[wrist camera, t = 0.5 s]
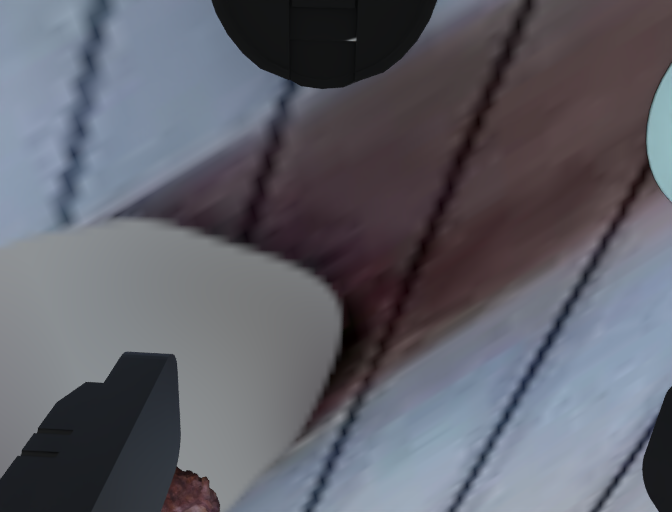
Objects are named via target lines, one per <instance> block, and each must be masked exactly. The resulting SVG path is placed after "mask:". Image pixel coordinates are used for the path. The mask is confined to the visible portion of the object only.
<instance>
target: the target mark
mask: <svg viewBox="0 0 672 512" xmlns="http://www.w3.org/2000/svg"><path fill="white" fill-rule="evenodd" d="M646 148H647V156H648V161H649V165H650V169H651V171H652V174H653V176H654V179H655V181H656V182H657V184H658V186H659V188H660V189H661V191H662V192H663V193H664V194H665V196H666V197H667V198H668V199H669V200H670V201H671V202H672V63H671V64H670V66H669V68H668V69H667V71H666V73H665V74H664V76H663V78H662V80H661V82H660V84H659V86H658V88H657V91H656V93H655V95H654V98H653V101H652V105H651V108H650V111H649V117H648V122H647V131H646Z"/></svg>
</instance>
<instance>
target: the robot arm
mask: <svg viewBox="0 0 672 512" xmlns="http://www.w3.org/2000/svg"><path fill="white" fill-rule="evenodd" d="M180 436H181V432H180V411H179V391H178V371H177V361H176V358H175V356H174V355H173V354H159V353H140V352H125V353H124V354H122V356H121V357H120V359H119V360H118V362H117V363H116V365H115V366H114V368H113V369H112V371H111V372H110V374H109V376H108V377H107V379H106V380H105V382H104V383H95V382H85V383H84V384H82V385H81V386H80V387H78V388H77V389H75V390H74V391H73V392H71V393H70V394H68V395H67V396H65V397H64V398H62V399H61V400H60V401H58V402H57V403H56V404H55V406H54V407H53V408H52V410H51V411H50V412H49V414H48V415H47V417H46V418H45V419H44V421H43V422H42V423H41V425H40V426H39V428H38V432H37V433H34V434H33V436H32V437H31V438H30V440H29V441H28V442H27V444H26V445H25V446H24V448H23V449H22V454H21V456H17V457H16V459H15V460H14V461H13V463H12V464H11V466H10V467H9V468H8V470H7V471H6V472H5V474H4V475H3V476H2V478H1V479H0V512H161V510H162V507H163V504H164V501H165V499H166V496H167V493H168V490H169V487H170V485H171V482H172V479H173V476H174V473H175V470H176V466H177V462H178V456H179V449H180ZM642 471H643V480H644V484H645V487H646V490H647V493H648V495H649V497H650V499H651V500H652V502H653V503H654V505H655V506H656V508H657V509H658V511H659V512H672V387H671V388H670V389H669V390H668V392H667V393H666V396H665V398H664V401H663V404H662V407H661V410H660V412H659V415H658V418H657V421H656V424H655V427H654V429H653V432H652V435H651V438H650V441H649V444H648V446H647V449H646V452H645V455H644V459H643V467H642Z"/></svg>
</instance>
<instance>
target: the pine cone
mask: <svg viewBox="0 0 672 512" xmlns="http://www.w3.org/2000/svg"><path fill="white" fill-rule="evenodd" d="M161 512H220V504H219V501H218V498H217V496H216V493H215V492H214V491H213V490H212V489H210V488H209V480H208V479H207V477H203V478H200V477H198V475H197V474H195V473H193V472H192V471H188V470H187V471H186V472H185V471H182V470H180V469H179V468H178V467H177V466H176V470H175V473H174V476H173V479H172V482H171V485H170V487H169V490H168V493H167V496H166V499H165V501H164V504H163V507H162V510H161Z"/></svg>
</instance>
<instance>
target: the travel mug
mask: <svg viewBox="0 0 672 512" xmlns="http://www.w3.org/2000/svg"><path fill="white" fill-rule="evenodd" d="M436 2H437V0H212V3H213V6H214V9H215V12H216V14H217V16H218V18H219V19H220V21H221V23H222V25H223V27H224V29H225V30H226V32H227V34H228V35H229V37H230V38H231V39H232V40H233V42H234V43H235V44H236V45H237V47H238V48H239V49H240V50H241V52H242V53H243V54H244V55H245V56H246V57H248V58H249V59H250V60H251V61H252V62H253V63H255V64H256V65H257V66H258V67H259V68H260V69H263V70H265V71H268V72H270V73H273V74H275V75H278V76H280V77H283V78H285V79H288V80H289V79H290V80H292V81H293V82H295V83H297V84H298V85H300V86H304V87H312V88H320V89H326V88H340V87H345V86H347V85H350V84H352V83H355V82H357V81H360V80H362V79H365V78H368V77H371V76H374V75H377V74H380V73H383V72H385V71H386V70H387V69H389V68H390V67H391V66H392V65H394V64H395V63H396V62H398V61H399V60H400V59H401V58H402V57H403V56H404V55H405V54H406V53H407V52H408V50H409V49H410V48H411V47H412V46H413V45H414V44H415V43H416V41H417V40H418V38H419V37H420V35H421V33H422V32H423V30H424V28H425V27H426V25H427V23H428V22H429V20H430V18H431V15H432V13H433V10H434V7H435V5H436Z"/></svg>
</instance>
